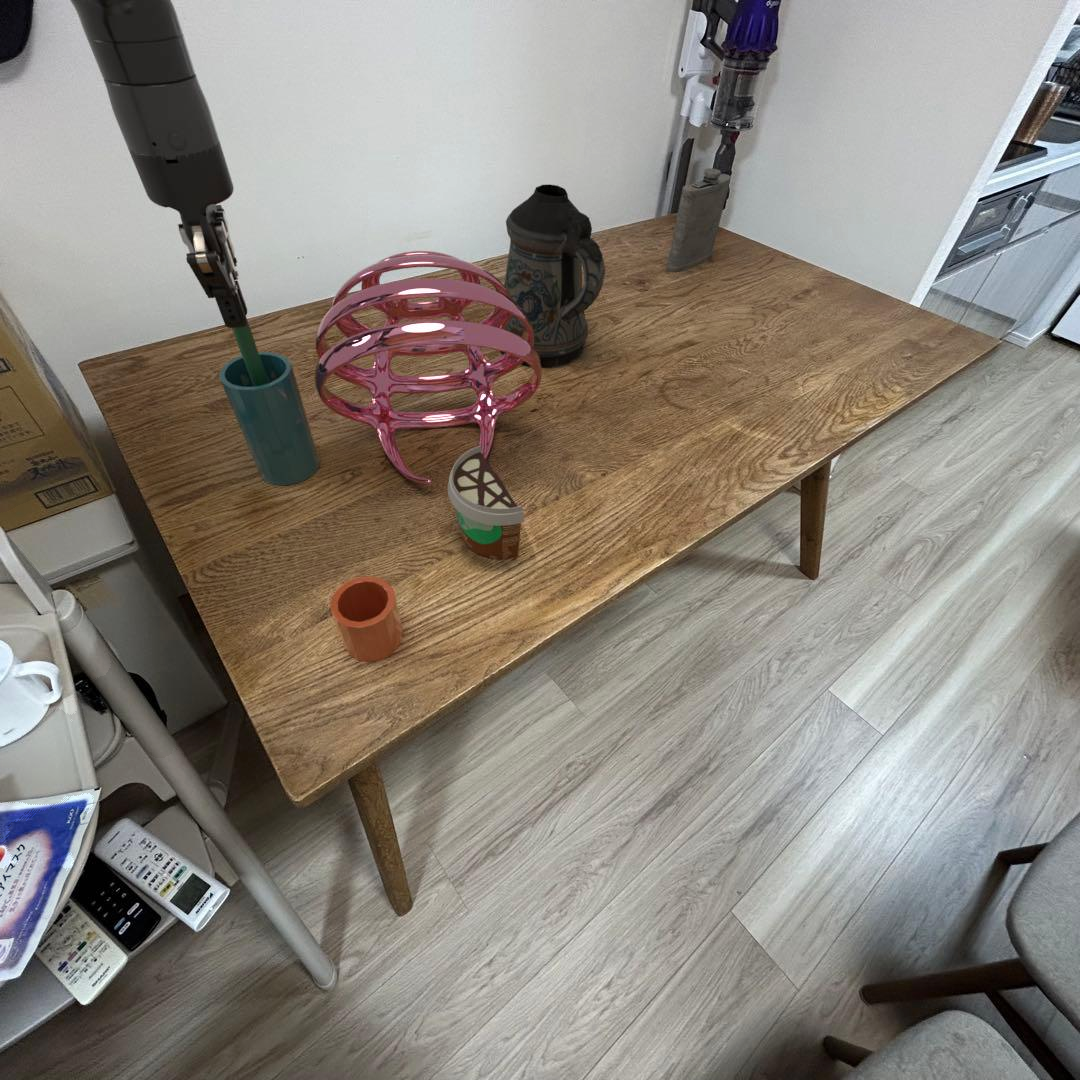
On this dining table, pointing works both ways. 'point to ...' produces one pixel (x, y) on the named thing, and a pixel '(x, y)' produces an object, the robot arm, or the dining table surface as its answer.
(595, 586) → the dining table surface
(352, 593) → the cup
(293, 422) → the teal cylindrical cup
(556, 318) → the beer stein
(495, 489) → the food container
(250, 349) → the bottle brush
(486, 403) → the spiral basket
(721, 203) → the flask
